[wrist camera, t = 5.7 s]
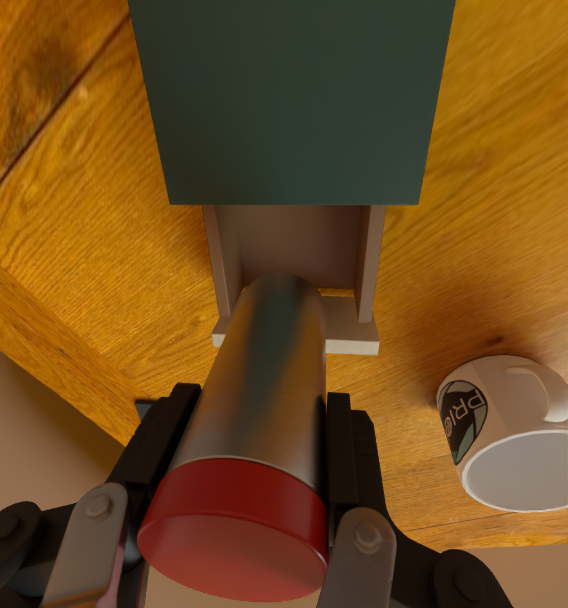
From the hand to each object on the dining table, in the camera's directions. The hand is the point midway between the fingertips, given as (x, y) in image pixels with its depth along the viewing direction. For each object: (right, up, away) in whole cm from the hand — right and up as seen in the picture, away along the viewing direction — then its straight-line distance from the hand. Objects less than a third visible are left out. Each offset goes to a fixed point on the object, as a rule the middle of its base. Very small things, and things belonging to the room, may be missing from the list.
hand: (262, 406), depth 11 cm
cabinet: (+2, +18, +8) cm, 20 cm away
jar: (+1, +3, +5) cm, 6 cm away
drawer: (+2, +8, +13) cm, 15 cm away
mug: (+20, -4, +19) cm, 28 cm away
